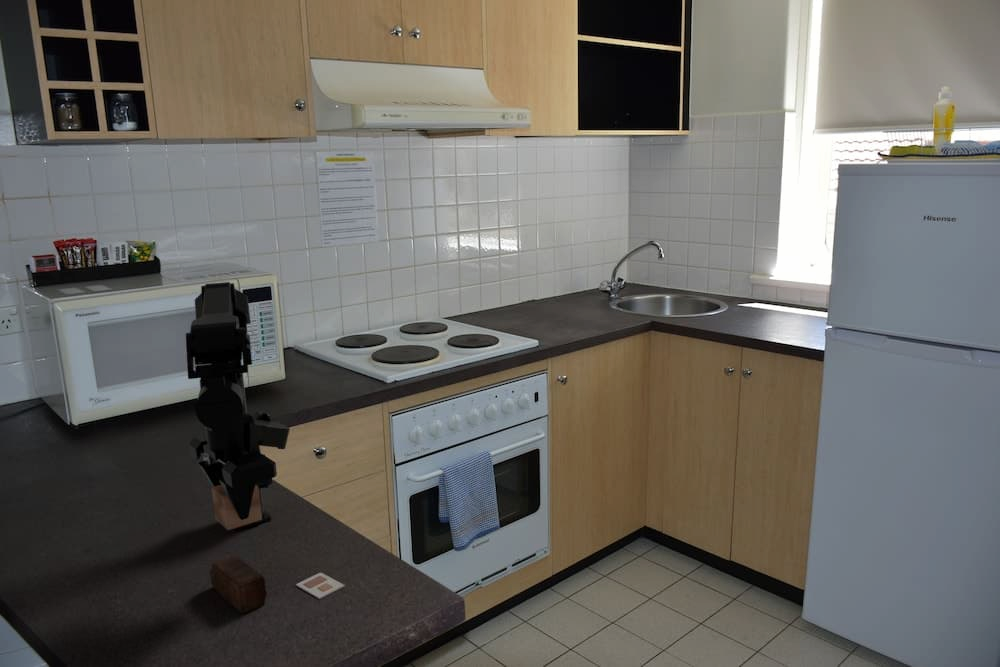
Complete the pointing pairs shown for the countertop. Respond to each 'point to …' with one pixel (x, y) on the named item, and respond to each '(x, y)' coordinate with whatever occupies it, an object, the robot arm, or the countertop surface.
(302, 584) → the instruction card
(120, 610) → the countertop surface
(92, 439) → the countertop surface
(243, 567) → the brick
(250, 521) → the top block
